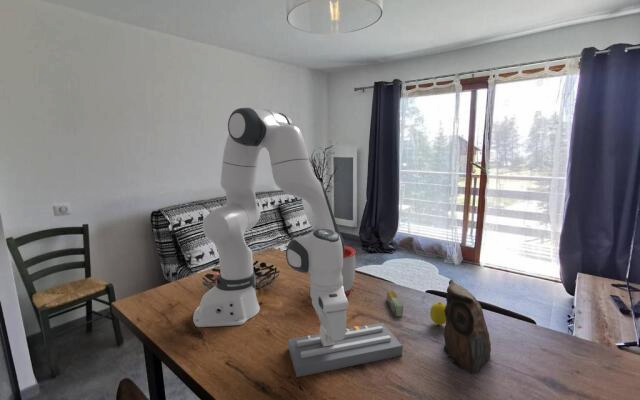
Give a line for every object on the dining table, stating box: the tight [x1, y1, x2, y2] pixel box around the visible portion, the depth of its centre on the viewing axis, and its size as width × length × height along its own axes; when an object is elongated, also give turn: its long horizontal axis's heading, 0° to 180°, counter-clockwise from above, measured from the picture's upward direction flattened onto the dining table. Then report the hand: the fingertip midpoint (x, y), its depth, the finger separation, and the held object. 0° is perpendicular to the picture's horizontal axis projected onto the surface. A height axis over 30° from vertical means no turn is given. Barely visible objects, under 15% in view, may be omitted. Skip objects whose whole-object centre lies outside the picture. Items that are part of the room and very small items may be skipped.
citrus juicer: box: [342, 245, 357, 296], centre depth 127 cm, size 16×17×20 cm
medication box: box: [386, 290, 404, 318], centre depth 115 cm, size 12×3×4 cm, turn 3°
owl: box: [443, 279, 492, 375], centre depth 88 cm, size 13×13×20 cm
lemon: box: [429, 301, 446, 326], centre depth 103 cm, size 6×6×8 cm
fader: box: [319, 324, 334, 348], centre depth 89 cm, size 3×4×5 cm
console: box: [287, 322, 403, 378], centre depth 91 cm, size 30×12×4 cm, turn 106°
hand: (326, 336), depth 89 cm, fingers closed on fader, 4 cm apart
